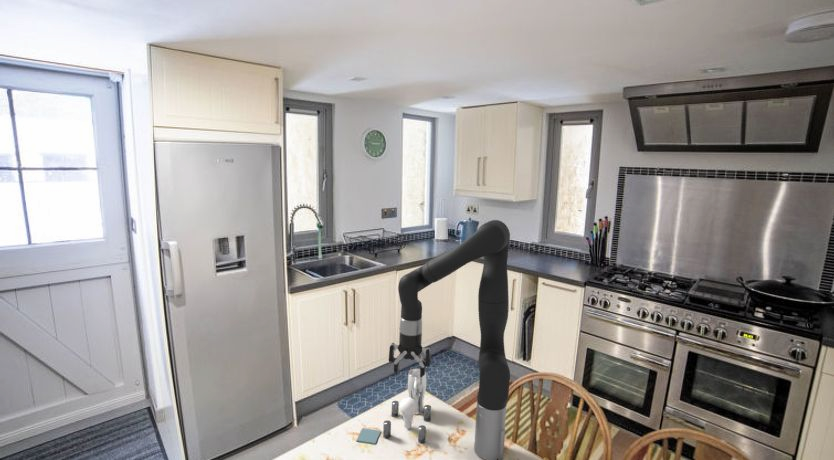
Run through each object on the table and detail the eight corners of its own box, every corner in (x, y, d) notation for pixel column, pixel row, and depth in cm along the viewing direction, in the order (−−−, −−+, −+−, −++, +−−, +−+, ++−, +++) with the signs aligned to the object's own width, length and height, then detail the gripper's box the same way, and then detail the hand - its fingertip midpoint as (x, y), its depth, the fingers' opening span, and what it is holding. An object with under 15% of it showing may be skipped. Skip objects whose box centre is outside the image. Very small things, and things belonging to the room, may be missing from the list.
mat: (380, 431, 140) (380, 430, 140) (375, 444, 133) (375, 443, 133) (362, 429, 141) (362, 428, 141) (356, 441, 134) (356, 440, 134)
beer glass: (404, 406, 155) (405, 370, 152) (420, 402, 158) (421, 366, 155) (411, 417, 148) (412, 379, 146) (428, 412, 151) (429, 375, 149)
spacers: (431, 418, 148) (431, 405, 147) (424, 444, 134) (425, 430, 133) (392, 412, 151) (392, 400, 150) (382, 438, 137) (382, 424, 136)
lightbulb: (395, 429, 141) (396, 400, 139) (404, 420, 146) (405, 392, 145) (411, 435, 138) (412, 405, 137) (419, 425, 144) (420, 397, 142)
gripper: (433, 328, 139) (431, 372, 142) (392, 323, 142) (391, 367, 144) (430, 336, 132) (428, 383, 134) (387, 332, 134) (386, 377, 137)
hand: (409, 374), depth 139 cm, fingers open, 8 cm apart
